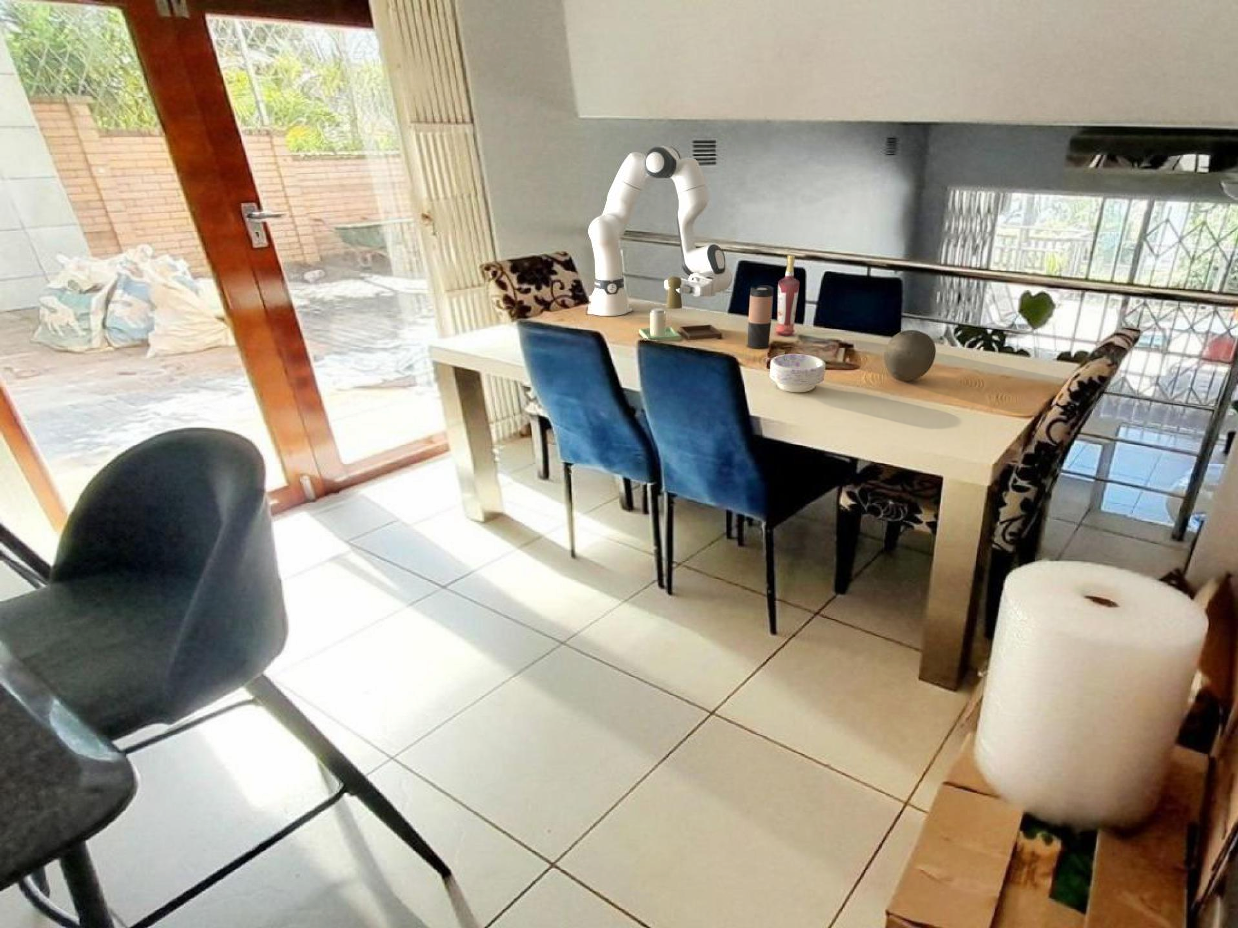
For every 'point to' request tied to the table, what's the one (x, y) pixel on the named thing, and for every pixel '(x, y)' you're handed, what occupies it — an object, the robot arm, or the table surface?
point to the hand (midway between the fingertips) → (672, 289)
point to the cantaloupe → (909, 355)
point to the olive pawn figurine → (674, 293)
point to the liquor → (787, 300)
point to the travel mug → (760, 316)
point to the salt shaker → (657, 322)
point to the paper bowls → (797, 372)
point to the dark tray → (700, 332)
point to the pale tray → (669, 335)
